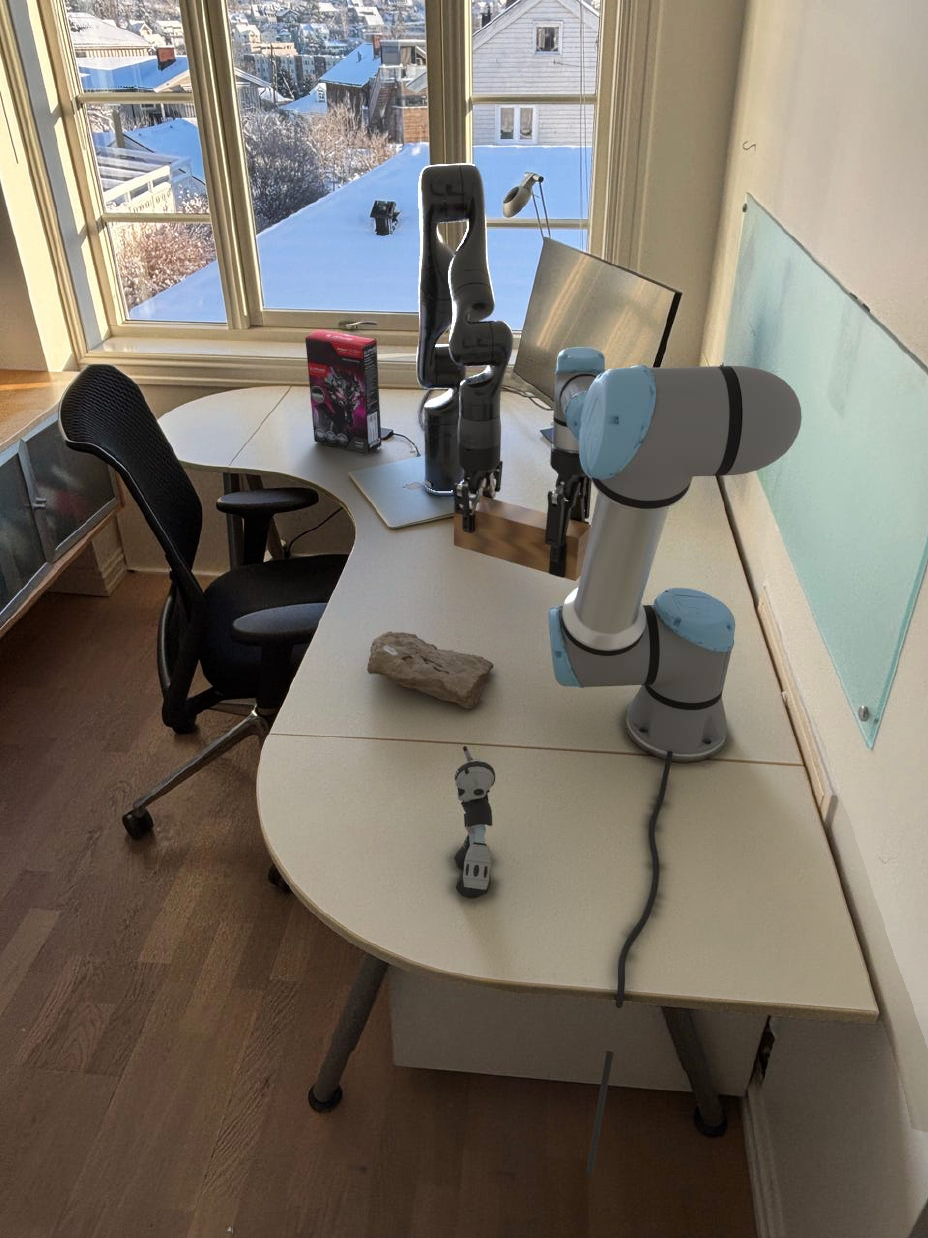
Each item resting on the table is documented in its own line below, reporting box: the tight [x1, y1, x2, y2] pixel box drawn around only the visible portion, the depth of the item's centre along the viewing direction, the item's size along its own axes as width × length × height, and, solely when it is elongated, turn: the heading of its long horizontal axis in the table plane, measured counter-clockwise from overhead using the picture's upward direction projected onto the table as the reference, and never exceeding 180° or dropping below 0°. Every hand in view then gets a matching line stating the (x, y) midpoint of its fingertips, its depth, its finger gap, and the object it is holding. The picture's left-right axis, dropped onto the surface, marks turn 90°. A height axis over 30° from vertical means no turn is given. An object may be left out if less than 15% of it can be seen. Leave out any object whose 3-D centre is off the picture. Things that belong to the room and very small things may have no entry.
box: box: [453, 494, 591, 582], centre depth 165 cm, size 25×6×8 cm, turn 60°
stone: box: [366, 631, 495, 710], centre depth 151 cm, size 21×15×6 cm
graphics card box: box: [304, 329, 382, 454], centre depth 226 cm, size 17×7×27 cm, turn 62°
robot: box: [453, 745, 496, 899], centre depth 114 cm, size 20×5×20 cm, turn 3°
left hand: (477, 523), depth 169 cm, fingers open, 6 cm apart
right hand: (564, 566), depth 164 cm, fingers closed on box, 6 cm apart
